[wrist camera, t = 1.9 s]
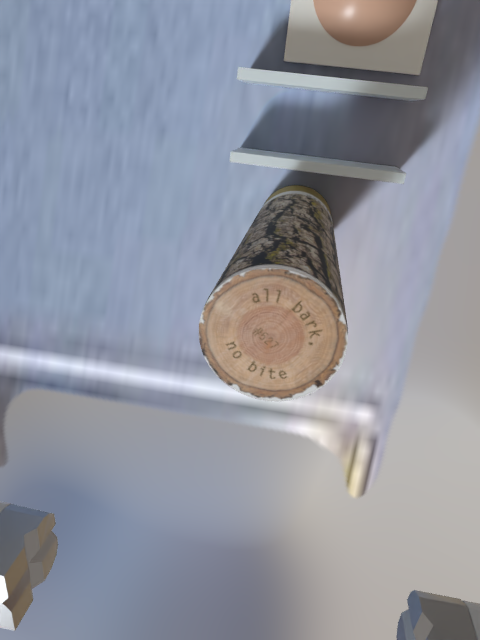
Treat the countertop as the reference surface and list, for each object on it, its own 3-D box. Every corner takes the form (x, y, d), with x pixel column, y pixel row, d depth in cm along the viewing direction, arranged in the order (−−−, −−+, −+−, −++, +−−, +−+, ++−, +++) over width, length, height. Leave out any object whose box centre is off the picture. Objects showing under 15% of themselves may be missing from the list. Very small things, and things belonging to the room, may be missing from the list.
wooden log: (295, 167, 40) (268, 234, 18) (346, 219, 42) (381, 341, 19) (245, 221, 43) (169, 337, 21) (295, 268, 44) (274, 425, 22)
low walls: (247, 72, 38) (238, 67, 33) (414, 90, 36) (428, 87, 32) (239, 156, 41) (229, 161, 36) (393, 175, 39) (403, 183, 35)
